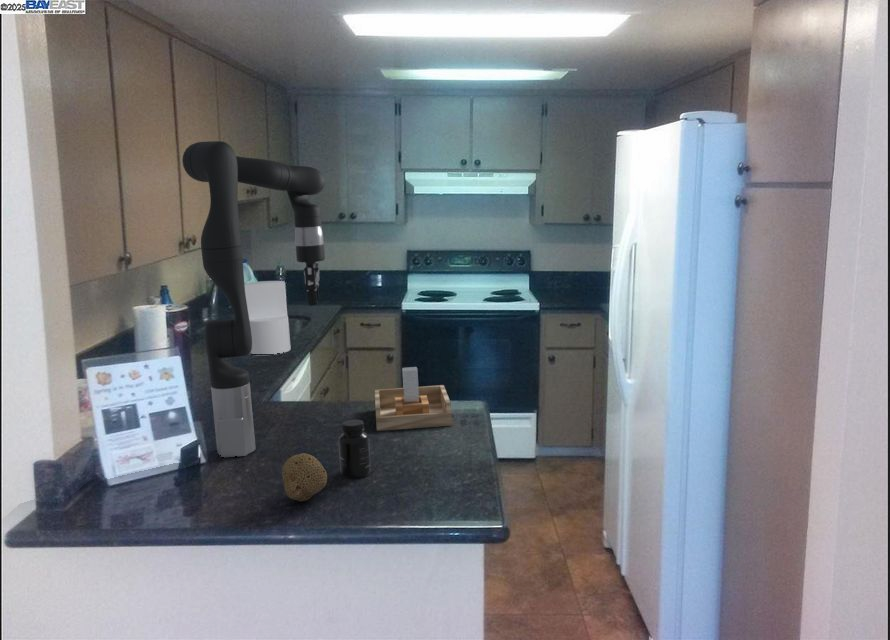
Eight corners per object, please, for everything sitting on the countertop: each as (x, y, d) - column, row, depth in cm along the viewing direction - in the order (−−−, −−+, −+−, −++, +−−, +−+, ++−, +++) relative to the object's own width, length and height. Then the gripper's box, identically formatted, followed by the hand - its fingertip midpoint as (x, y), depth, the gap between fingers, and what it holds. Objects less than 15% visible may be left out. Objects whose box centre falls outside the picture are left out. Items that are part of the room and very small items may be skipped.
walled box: (452, 425, 201) (451, 403, 200) (376, 430, 199) (375, 409, 198) (444, 404, 221) (443, 385, 220) (376, 409, 219) (374, 389, 218)
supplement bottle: (334, 477, 168) (330, 425, 166) (352, 466, 174) (348, 416, 172) (360, 481, 165) (356, 428, 163) (377, 470, 171) (373, 419, 169)
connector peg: (419, 412, 208) (417, 370, 206) (405, 413, 208) (402, 371, 206) (418, 408, 212) (416, 366, 210) (404, 409, 211) (402, 367, 209)
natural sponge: (330, 490, 160) (327, 445, 158) (325, 508, 151) (322, 460, 150) (287, 493, 160) (284, 448, 158) (280, 510, 151) (276, 463, 149)
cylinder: (244, 349, 315) (238, 283, 311) (285, 344, 322) (280, 279, 318) (252, 357, 300) (246, 287, 295) (295, 351, 307) (289, 283, 302)
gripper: (322, 244, 197) (326, 306, 199) (325, 241, 211) (329, 298, 213) (292, 246, 196) (297, 307, 199) (297, 242, 210) (302, 300, 213)
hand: (314, 303), depth 206 cm, fingers open, 8 cm apart
